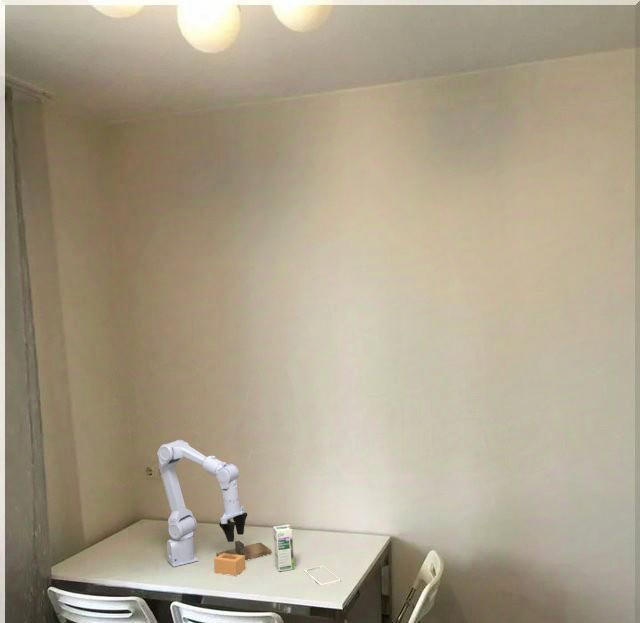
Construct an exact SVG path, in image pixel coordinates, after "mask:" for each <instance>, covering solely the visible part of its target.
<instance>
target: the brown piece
mask: <svg viewBox="0 0 640 623" xmlns="http://www.w3.org/2000/svg"><path fill="white" fill-rule="evenodd" d="M234 547H235V548H231V549H228V550H223V551H219V552H216V556H215V557H218V556H219V555H221V554H222V553H229V554H236V555H244V556H245V560H246V561H249V560H248V559H250V560H252V558H254V559H256V557H257V558H261V557H264V556H263V555H265V556H268V555H267V554H269V555H272V554H271V553H272V552H273V551H272V549H271V548H269V547H268V546H266V545H265V544H263V543H262V542H256V543H252V544H251V543H250V544H248V545H245V544H244V543H243V542H242V541H240V540H234ZM260 556H261V557H260Z"/></svg>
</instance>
